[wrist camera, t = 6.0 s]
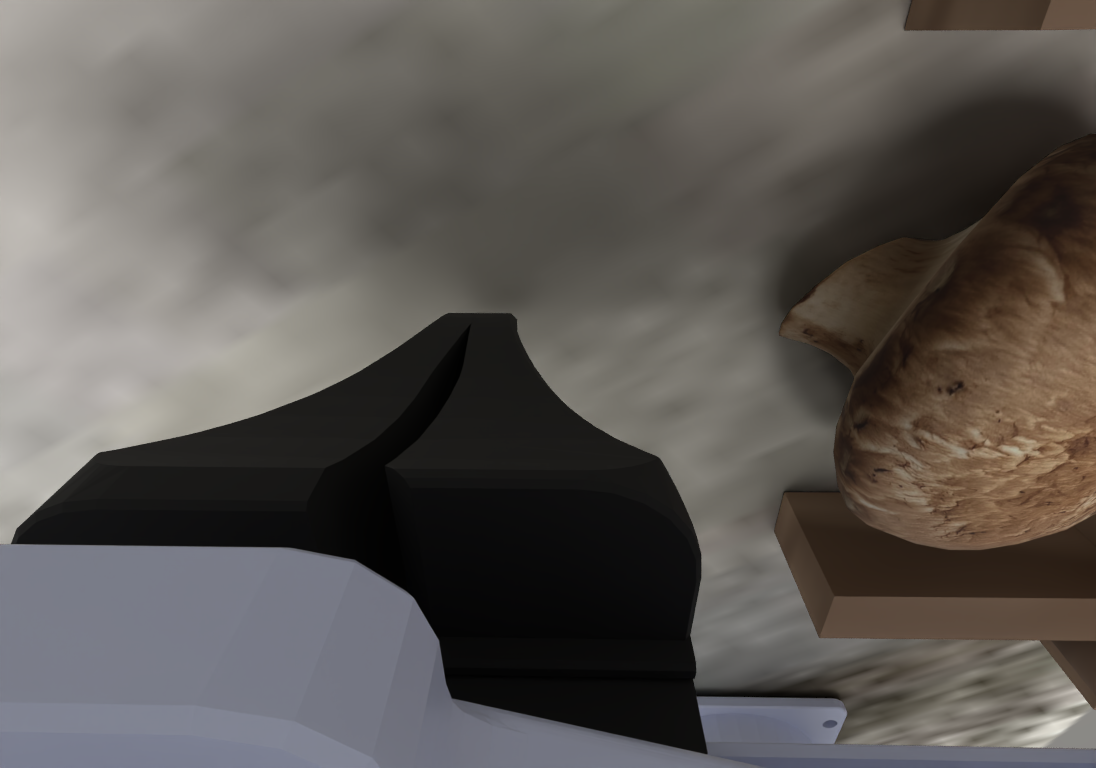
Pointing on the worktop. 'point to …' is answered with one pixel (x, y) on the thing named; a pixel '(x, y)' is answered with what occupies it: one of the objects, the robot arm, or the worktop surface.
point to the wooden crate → (933, 573)
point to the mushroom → (971, 368)
